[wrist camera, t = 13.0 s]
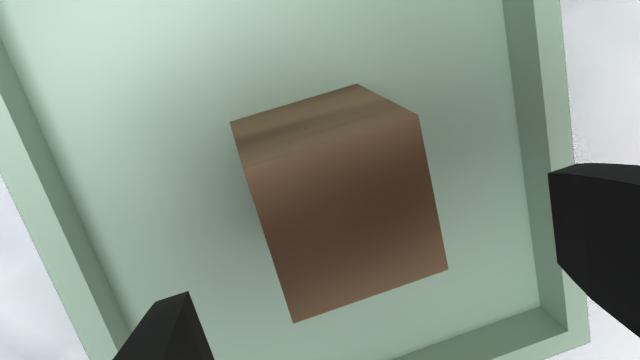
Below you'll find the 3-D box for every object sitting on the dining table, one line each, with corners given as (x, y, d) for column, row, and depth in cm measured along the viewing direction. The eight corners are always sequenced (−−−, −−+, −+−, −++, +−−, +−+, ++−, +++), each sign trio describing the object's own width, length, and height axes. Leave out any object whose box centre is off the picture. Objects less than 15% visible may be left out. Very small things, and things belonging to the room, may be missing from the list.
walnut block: (384, 201, 18) (448, 269, 14) (267, 239, 18) (293, 323, 13) (356, 83, 17) (418, 114, 12) (229, 121, 16) (242, 169, 12)
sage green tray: (549, 306, 22) (590, 342, 20) (162, 444, 20) (158, 502, 18) (488, -202, 16) (538, -237, 14) (-72, -71, 14) (-124, -85, 12)
